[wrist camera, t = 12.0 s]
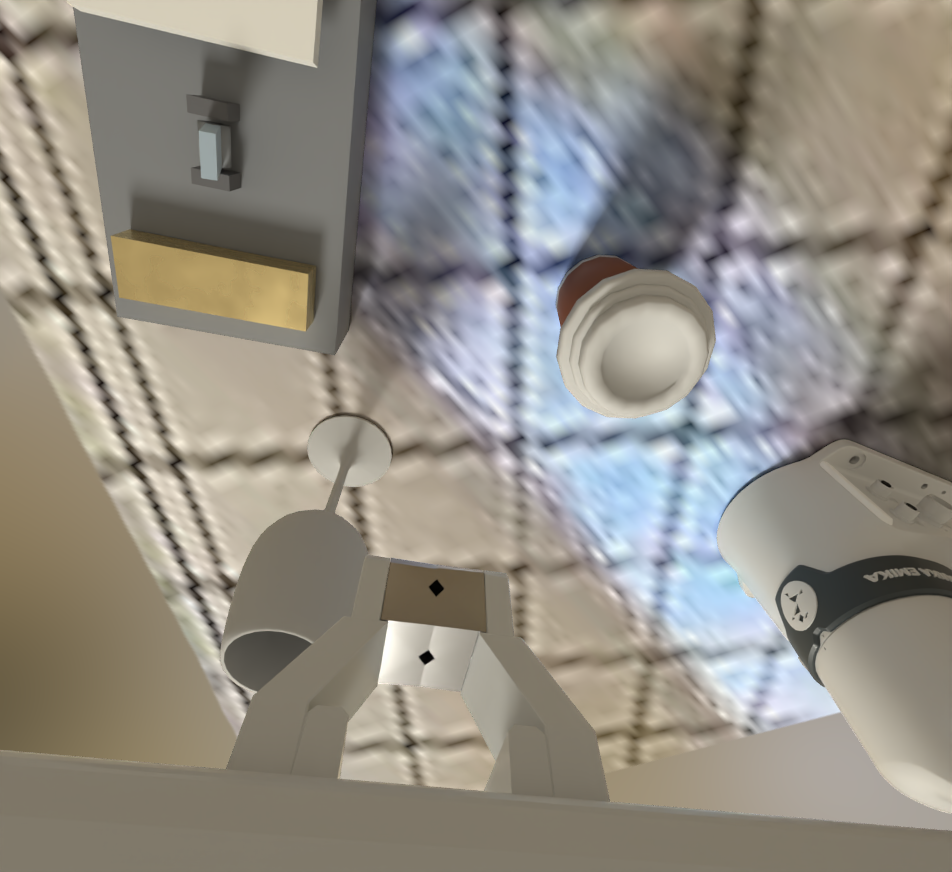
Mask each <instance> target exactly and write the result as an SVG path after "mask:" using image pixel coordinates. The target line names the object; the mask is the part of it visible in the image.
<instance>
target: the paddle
mask: <svg viewBox="0 0 952 872" xmlns="http://www.w3.org/2000/svg"><path fill="white" fill-rule="evenodd" d="M197 127H198V145H199V162H200V166H201V178H203V179H210V180H216V181H218V178H219V175H220V172H221V169H222V168H231V167H232V162H231V126H229V125H225V124H221V123H217V122H211V121H205V120H197Z"/></svg>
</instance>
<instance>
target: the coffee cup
mask: <svg viewBox="0 0 952 872" xmlns="http://www.w3.org/2000/svg"><path fill="white" fill-rule="evenodd" d="M556 308H557V312H558V316H559V320H560V325H561V329H560V335H559V342H558V349H557V356H556V357H557V361H558V364H559V368H560V371H561V375H562V378H563V382H564V384H565V387H566V388H567V389H568V390H569V391H570V392H571V394H572V395H573V396H574V397H575V398H576V399H577V400H578V401H579V403H580V404H581V405H582V406H584V407H586V408H588V409H590V410H593V411H595V412H597V413H599V414H602V415H604V416H606V417H616V418H638V417H643V416H647V415H650V414H654V413H657V412H660V411H664V410H667V409H668V408H670V407H671V406H673V405H674V404H675V403H677V402H678V401H680V400H681V399H683V398H684V397H686V396H687V395H688V394H689V392H690V391H691V390H692V388H693V387H694V386H695V384H696V383H697V382H698V381H699V379H700V378H701V377H702V375H703V374H704V372H705V371H706V370H707V367H708V364H709V361H710V358H711V354H712V351H713V348H714V345H715V341H716V338H715V329H714V321H713V312H712V310H711V308H710V307H709V305H708V304H707V302H706V301H705V299H704V298H703V296H702V295H701V293H700V292H699V290H698V289H697V288H696V287H695V286H694V285H692V284H691V283H689V282H687V281H685V280H683V279H681V278H679V277H678V276H676V275H674V274H672V273H670V272H668V271H667V270H650V269H638V268H636V267H634V266H632V265H631V264H630V263H628V262H626V261H624V260H623V259H621V258H619V257H617V256H613V255H595V256H593V257H590V258H587V259H584V260H581V261H580V262H578V263H577V264H576V265H575V266H574V267H573V268H571V269H570V270H569V271H568V272H567V273H566V275H565V276H564V278H563V280H562V282H561V283H560V285H559V287H558V291H557V298H556Z"/></svg>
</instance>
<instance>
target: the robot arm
mask: <svg viewBox="0 0 952 872" xmlns="http://www.w3.org/2000/svg"><path fill="white" fill-rule="evenodd" d="M852 457H853V458H852ZM717 544H718V549H719V551H720V553H721V555H722V557H723V558H724V560H725V561H726V562H727V563H728V564H729V565H730V566H731V567H732V568H733V569H734V570H735V571H736V573H737V575H738V581H739V584H740V587H741V588H742V590H743V591H744V592H745V594H746V595H747V596H749V597H752V598H756V600H757V601H758V602H759V604H760V605H761V606H762V608H763V609H764V610H765V612H766V613H767V614H768V615H769V617H770V618H771V619H772V621H773V622H774V623H775V625H776V626H777V627H778V628H779V630H780V631H781V632H782V634H783V635H784V636H785V637H786V639H787V640H788V641H789V642H790V643H791V645H792V646H793V648H794V650H795V651H796V653H797V654H798V656H799V657H798V658H799V660H800V662H801V663H802V665H803V666H804V667H805V668H806V669H807V670H808V671H809V672H810V674H811V675H812V677H813V678H814V679H815V680H816V681H817V682H818V683H819V684H820V685H822V686H823V687H825V688H826V689H827V691H828V692H829V694H830V695H831V697H832V699H833V700H834V702H835V703H836V705H837V706H838V708H839V710H840V711H841V713H842V714H843V716H844V718H845V719H846V721H847V722H848V724H849V726H850V727H851V729H852V730H853V732H854V733H855V735H856V737H857V738H858V739H859V741H860V743H861V744H862V746H863V748H864V749H865V751H866V752H867V754H868V755H869V757H870V759H871V760H872V762H873V763H874V765H875V766H876V768H877V770H878V771H879V773H880V774H881V775H882V776H883V777H884V778H885V780H886V781H887V782H888V783H889V784H891V785H892V786H893V787H894V788H895V789H897V790H898V791H899V792H901V793H902V794H904V795H905V796H907V797H909V798H911V799H912V800H915V801H917V802H919V803H921V804H923V805H925V806H928V807H931V808H933V809H936V810H939V811H942V812H946V813H950V814H952V482H950V481H947V480H945V479H942V478H940V477H938V476H935V475H933V474H930V473H928V472H925V471H923V470H921V469H918V468H916V467H913V466H911V465H908V464H906V463H904V462H901V461H899V460H896V459H894V458H891V457H889V456H887V455H884V454H882V453H879V452H877V451H874V450H872V449H870V448H867V447H865V446H862V445H860V444H857V443H855V442H853V441H850V440H846V439H842V440H838V441H835V442H833V443H831V444H829V445H828V446H826V447H824V448H823V449H821V450H820V451H818V452H816V453H815V454H814V455H812V456H811V457H809V458H807V459H804V460H802V461H799V462H796V463H792V464H789V465H786V466H783V467H781V468H778V469H776V470H773V471H771V472H769V473H767V474H765V475H763V476H762V477H760V478H758V479H757V480H755V481H754V482H752V483H751V484H750V485H748V486H747V487H746V488H745V489H743V490H742V491H741V492H740V493H739V494H738V495H737V496H736V497H735V498H734V499H733V500H732V502H731V503H730V504H729V506H728V507H727V508H726V510H725V512H724V514H723V516H722V518H721V520H720V523H719V526H718V530H717ZM389 564H390V566H389ZM388 570H389V572H388ZM387 577H388V578H387ZM386 583H387V584H386ZM378 683H381V684H394V685H407V686H419V687H427V688H434V689H441V690H449V691H456V692H461V696H462V698H463V700H464V702H465V703H466V705H467V707H468V709H469V711H470V713H471V715H472V717H473V719H474V721H475V723H476V725H477V726H478V728H479V730H480V732H481V734H482V736H483V738H484V740H485V742H486V744H487V746H488V747H489V749H490V751H491V753H492V755H493V757H494V759H495V761H496V762H495V765H494V767H493V770H492V772H491V775H490V777H489V780H488V782H487V784H486V787H485V789H484V791H477V790H465V789H453V788H441V787H429V786H418V785H406V784H394V783H382V782H370V781H359V780H347V779H340V774H341V767H342V760H343V753H344V746H345V739H346V732H347V725H348V722H349V720H350V719H351V718H352V717H353V715H354V714H355V713H356V712H357V710H358V709H359V708H360V707H361V705H362V704H363V703H364V702H365V700H366V699H367V698H368V697H369V695H370V694H371V693H372V692H373V690H374V689H375V688H376V687H377V684H378ZM0 872H952V831H948V830H937V829H925V828H913V827H901V826H890V825H877V824H865V823H854V822H843V821H830V820H819V819H806V818H796V817H784V816H771V815H760V814H748V813H737V812H725V811H713V810H701V809H690V808H677V807H666V806H654V805H643V804H630V803H618V802H610V799H609V794H608V789H607V785H606V780H605V775H604V771H603V766H602V761H601V756H600V752H599V747H598V742H597V738H596V733H595V730H594V729H593V728H592V727H591V725H590V724H589V723H588V722H587V720H586V719H585V718H584V717H583V715H582V714H581V713H580V711H579V710H578V709H577V708H576V706H575V705H574V704H573V703H572V701H571V700H570V699H569V698H568V696H567V695H566V694H565V692H564V691H563V690H562V689H561V687H560V686H559V685H558V684H557V682H556V681H555V680H554V679H553V677H552V676H551V675H550V673H549V672H548V671H547V670H546V668H545V667H544V666H543V665H542V663H541V662H540V661H539V660H538V658H537V657H536V656H535V655H534V653H533V652H532V651H531V649H530V648H529V647H528V646H527V644H526V643H525V642H524V641H523V639H522V638H520V637H514V629H513V619H512V610H511V600H510V590H509V580H508V576H507V574H506V573H500V572H491V571H482V570H474V569H466V568H458V567H450V566H442V565H433V564H427V563H420V562H414V561H408V560H401V559H395V558H391V561H390V558H385V557H379V556H373V555H367V554H366V557H365V559H364V562H363V567H362V571H361V576H360V580H359V584H358V589H357V593H356V598H355V602H354V607H353V611H352V615H351V617H347V616H343V617H342V618H341V619H340V620H339V621H338V622H337V623H335V624H334V625H333V626H332V627H331V628H330V629H329V630H327V631H326V632H325V633H324V634H323V635H322V636H321V637H320V638H318V639H317V640H316V641H315V642H314V643H313V644H312V645H310V646H309V647H308V648H307V649H306V650H305V651H304V652H302V653H301V654H300V655H299V656H298V657H297V658H296V659H294V660H293V661H292V662H291V663H290V664H289V665H288V666H286V667H285V668H284V669H283V670H282V671H281V672H280V673H278V674H277V675H276V676H275V677H274V678H273V679H272V680H270V681H269V682H268V683H267V684H266V685H265V686H264V687H262V688H261V689H260V690H259V691H258V692H257V693H256V694H254V695H253V697H252V700H251V703H250V705H249V708H248V711H247V713H246V716H245V719H244V721H243V724H242V727H241V729H240V732H239V735H238V738H237V740H236V743H235V746H234V749H233V751H232V754H231V756H230V759H229V762H228V765H227V767H226V769H217V768H205V767H194V766H181V765H170V764H159V763H147V762H135V761H123V760H112V759H99V758H88V757H76V756H65V755H53V754H41V753H30V752H17V751H5V750H0Z"/></svg>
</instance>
